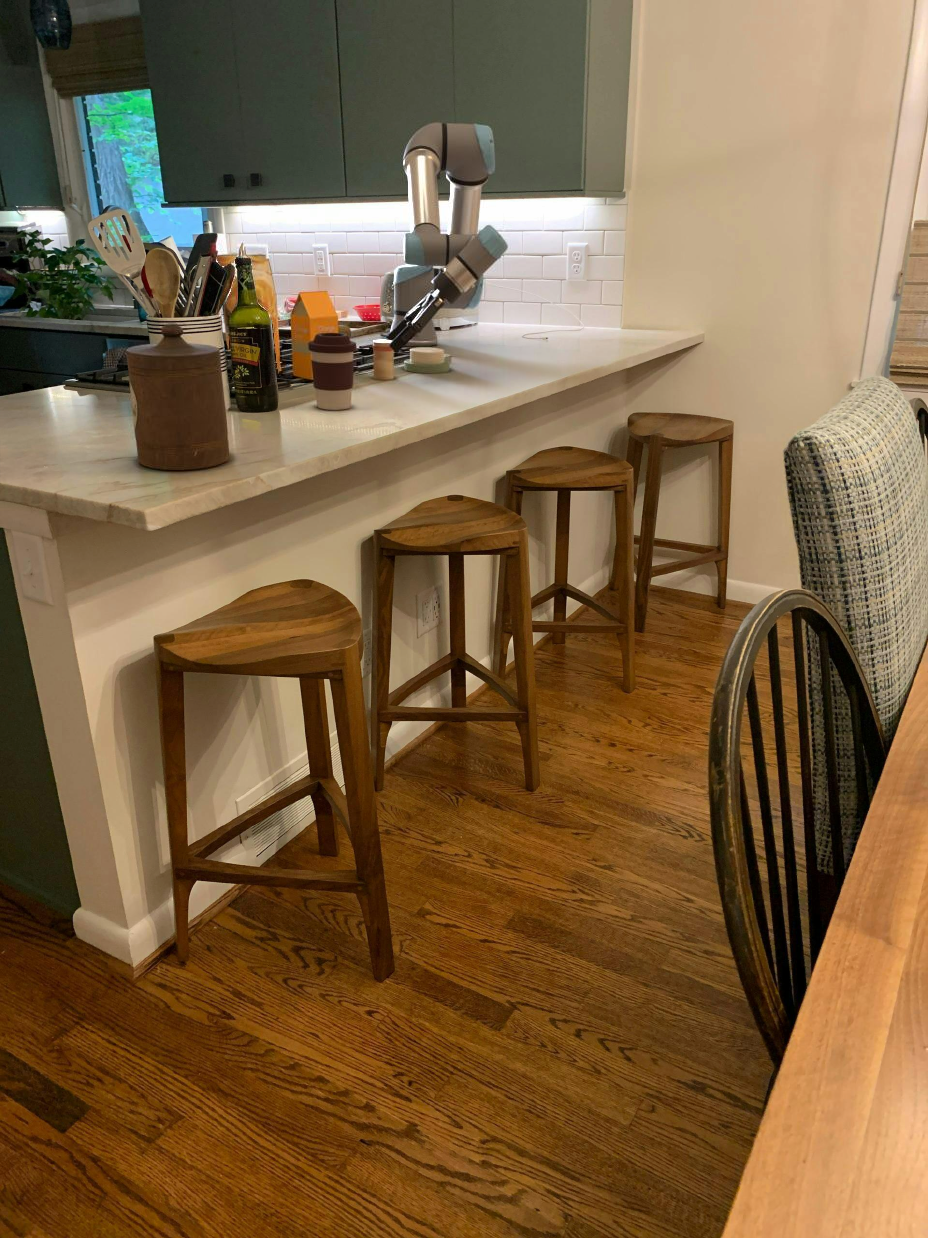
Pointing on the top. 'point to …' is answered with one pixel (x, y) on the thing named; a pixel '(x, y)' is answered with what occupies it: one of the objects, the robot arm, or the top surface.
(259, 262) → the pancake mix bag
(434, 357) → the disc stack
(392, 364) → the cylinder
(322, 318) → the orange juice
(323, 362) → the coffee cup
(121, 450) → the top surface
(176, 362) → the wooden container
